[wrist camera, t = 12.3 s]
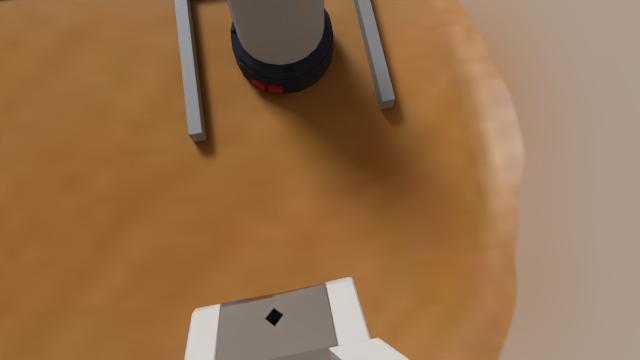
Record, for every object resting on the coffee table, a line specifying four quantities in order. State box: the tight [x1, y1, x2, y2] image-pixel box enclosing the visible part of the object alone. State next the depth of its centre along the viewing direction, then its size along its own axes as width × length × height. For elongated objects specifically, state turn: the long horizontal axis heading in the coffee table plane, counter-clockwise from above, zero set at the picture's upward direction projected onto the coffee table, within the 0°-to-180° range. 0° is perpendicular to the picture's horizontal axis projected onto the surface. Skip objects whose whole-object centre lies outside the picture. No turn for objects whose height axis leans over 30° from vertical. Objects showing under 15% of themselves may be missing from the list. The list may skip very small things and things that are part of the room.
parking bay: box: [174, 0, 395, 142], centre depth 39 cm, size 16×15×2 cm
